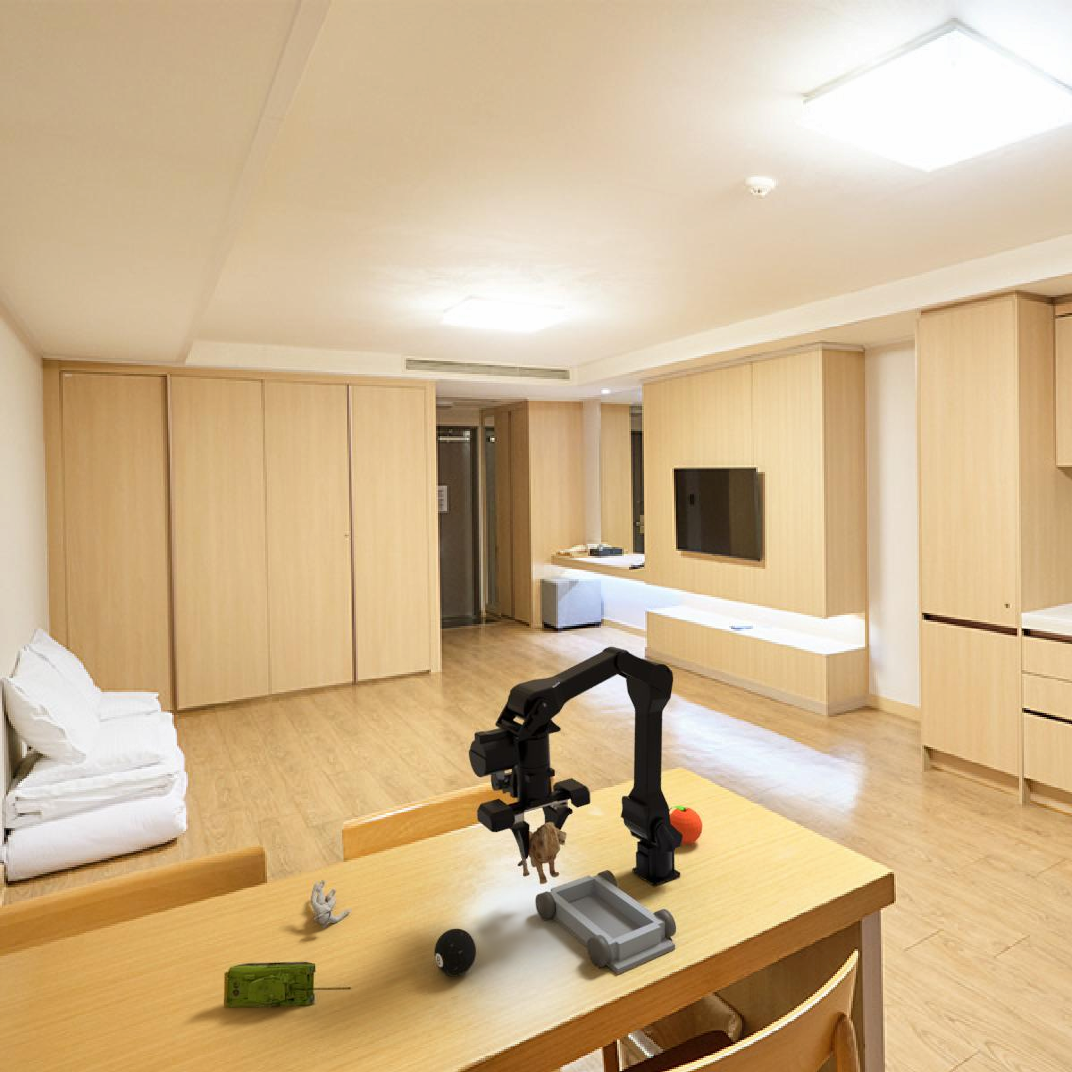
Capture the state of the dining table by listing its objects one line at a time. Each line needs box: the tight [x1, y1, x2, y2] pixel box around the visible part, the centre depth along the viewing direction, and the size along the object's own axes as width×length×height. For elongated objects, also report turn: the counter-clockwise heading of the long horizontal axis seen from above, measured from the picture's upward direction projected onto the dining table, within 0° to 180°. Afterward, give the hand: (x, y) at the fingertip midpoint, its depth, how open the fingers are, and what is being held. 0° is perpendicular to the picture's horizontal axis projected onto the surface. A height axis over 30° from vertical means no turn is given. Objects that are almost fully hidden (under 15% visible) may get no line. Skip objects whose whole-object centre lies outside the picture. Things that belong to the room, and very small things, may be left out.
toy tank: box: [223, 961, 352, 1009], centre depth 104 cm, size 7×19×10 cm
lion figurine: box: [517, 822, 568, 885], centre depth 124 cm, size 15×5×9 cm, turn 34°
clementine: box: [669, 805, 703, 845], centre depth 151 cm, size 8×7×7 cm
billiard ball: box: [433, 928, 477, 977], centre depth 111 cm, size 6×6×6 cm
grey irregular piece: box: [310, 880, 352, 929], centre depth 127 cm, size 8×5×12 cm
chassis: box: [534, 869, 677, 975], centre depth 122 cm, size 14×22×4 cm, turn 31°
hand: (537, 854), depth 124 cm, fingers closed on lion figurine, 4 cm apart
